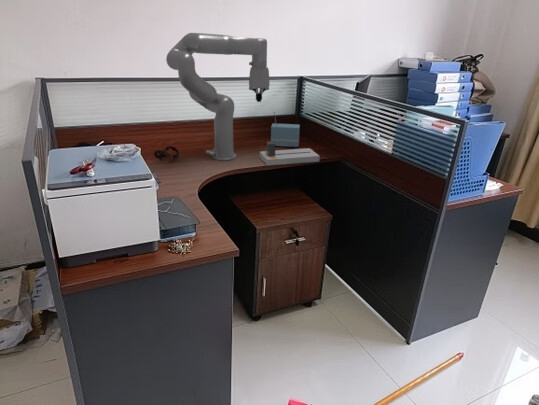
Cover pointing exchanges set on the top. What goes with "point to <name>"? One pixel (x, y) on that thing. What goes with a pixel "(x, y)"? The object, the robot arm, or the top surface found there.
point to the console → (290, 156)
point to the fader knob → (270, 148)
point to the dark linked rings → (166, 153)
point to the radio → (285, 134)
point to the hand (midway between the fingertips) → (258, 101)
